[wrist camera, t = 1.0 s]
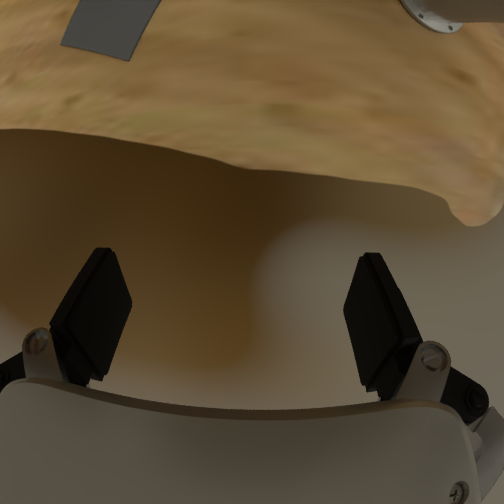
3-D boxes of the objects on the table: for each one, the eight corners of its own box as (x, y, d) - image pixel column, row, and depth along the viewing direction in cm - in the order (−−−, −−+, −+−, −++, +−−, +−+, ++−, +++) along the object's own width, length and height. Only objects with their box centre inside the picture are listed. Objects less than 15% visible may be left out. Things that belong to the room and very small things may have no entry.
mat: (89, -14, 18) (87, -15, 18) (162, -3, 22) (161, -3, 21) (62, 44, 23) (60, 44, 23) (129, 60, 27) (127, 60, 27)
